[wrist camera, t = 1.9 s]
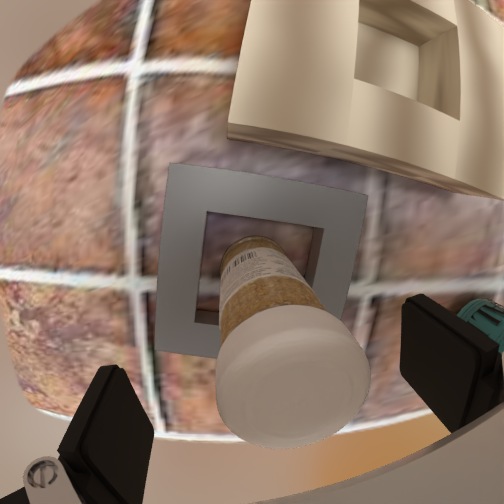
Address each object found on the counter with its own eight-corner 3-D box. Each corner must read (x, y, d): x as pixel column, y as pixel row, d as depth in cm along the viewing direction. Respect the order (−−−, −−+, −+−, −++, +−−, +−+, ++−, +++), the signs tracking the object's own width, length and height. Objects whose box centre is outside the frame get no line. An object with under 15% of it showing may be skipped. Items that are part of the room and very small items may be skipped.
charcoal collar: (355, 193, 20) (368, 195, 18) (319, 351, 23) (327, 365, 21) (175, 164, 19) (169, 162, 17) (159, 335, 21) (154, 349, 19)
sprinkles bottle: (238, 310, 21) (257, 469, 8) (208, 252, 20) (182, 377, 7) (299, 282, 21) (387, 414, 8) (272, 221, 20) (353, 302, 7)
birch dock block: (460, 44, 18) (503, 26, 12) (454, 192, 21) (507, 200, 15) (259, -29, 16) (270, -77, 10) (226, 138, 19) (227, 122, 13)
